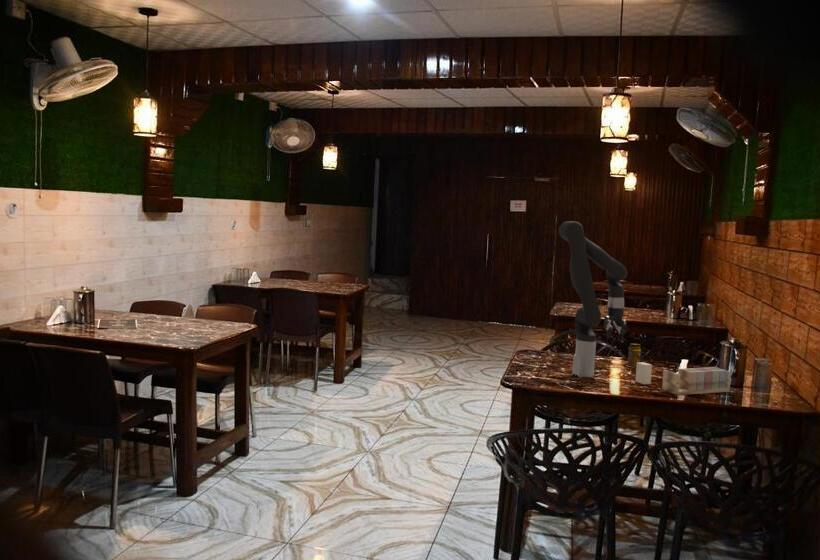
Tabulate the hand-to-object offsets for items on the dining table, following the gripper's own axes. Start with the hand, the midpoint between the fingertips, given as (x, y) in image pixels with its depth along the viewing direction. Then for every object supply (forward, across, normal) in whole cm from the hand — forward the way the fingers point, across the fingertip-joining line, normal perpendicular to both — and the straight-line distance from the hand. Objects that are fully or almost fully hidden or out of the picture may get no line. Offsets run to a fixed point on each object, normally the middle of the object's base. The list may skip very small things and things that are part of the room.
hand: (614, 339), depth 315 cm
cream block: (+18, +15, +4) cm, 24 cm away
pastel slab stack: (+19, +34, +18) cm, 42 cm away
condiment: (+19, -16, +25) cm, 35 cm away
